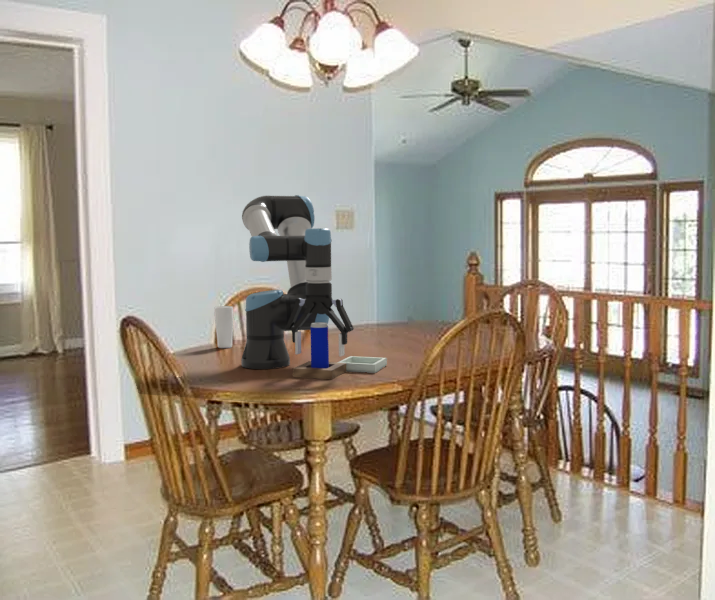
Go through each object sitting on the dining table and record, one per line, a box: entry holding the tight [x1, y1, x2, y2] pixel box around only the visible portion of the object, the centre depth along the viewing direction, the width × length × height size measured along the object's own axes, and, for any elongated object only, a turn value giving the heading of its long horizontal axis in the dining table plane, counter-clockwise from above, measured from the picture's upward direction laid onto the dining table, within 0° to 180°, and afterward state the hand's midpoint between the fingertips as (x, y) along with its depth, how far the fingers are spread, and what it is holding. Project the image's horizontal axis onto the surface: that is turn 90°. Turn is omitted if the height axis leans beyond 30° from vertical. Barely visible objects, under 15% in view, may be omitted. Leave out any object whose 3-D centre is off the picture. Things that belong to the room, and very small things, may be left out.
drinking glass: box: [214, 305, 234, 349], centre depth 256 cm, size 7×7×15 cm
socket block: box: [292, 360, 347, 380], centre depth 203 cm, size 12×12×2 cm
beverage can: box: [310, 322, 330, 368], centre depth 203 cm, size 5×5×15 cm
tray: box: [336, 355, 388, 374], centre depth 212 cm, size 12×12×2 cm
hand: (319, 354), depth 203 cm, fingers open, 13 cm apart
